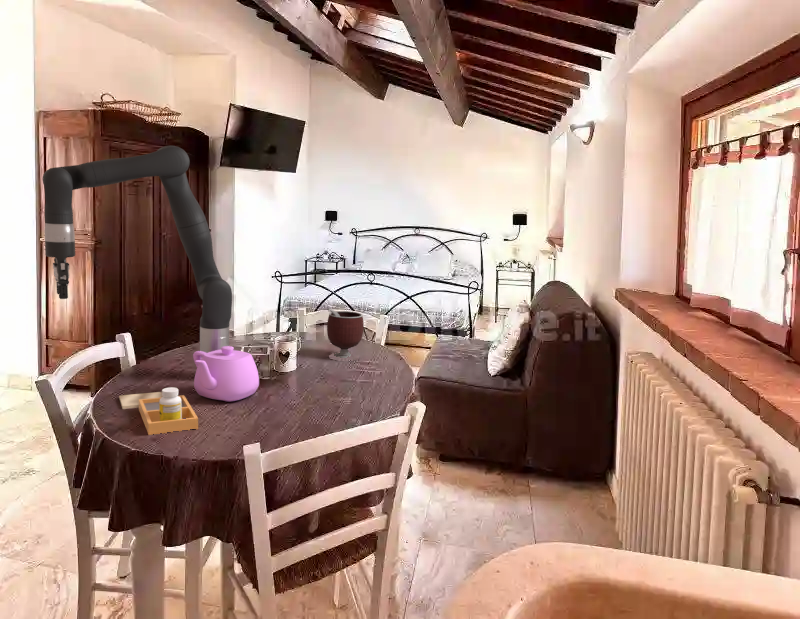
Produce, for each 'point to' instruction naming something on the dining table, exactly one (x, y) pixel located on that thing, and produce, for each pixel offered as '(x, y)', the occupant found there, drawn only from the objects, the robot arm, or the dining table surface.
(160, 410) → the supplement bottle
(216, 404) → the dining table surface
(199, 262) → the robot arm
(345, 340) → the mate gourd
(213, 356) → the teapot
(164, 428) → the divided wooden tray
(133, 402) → the mat
